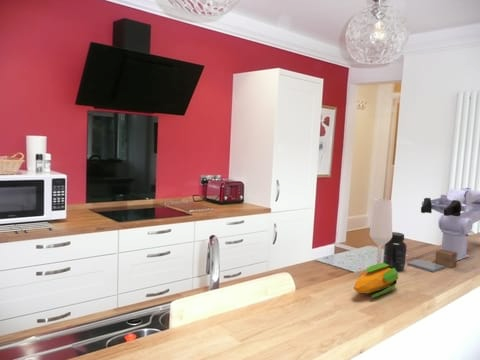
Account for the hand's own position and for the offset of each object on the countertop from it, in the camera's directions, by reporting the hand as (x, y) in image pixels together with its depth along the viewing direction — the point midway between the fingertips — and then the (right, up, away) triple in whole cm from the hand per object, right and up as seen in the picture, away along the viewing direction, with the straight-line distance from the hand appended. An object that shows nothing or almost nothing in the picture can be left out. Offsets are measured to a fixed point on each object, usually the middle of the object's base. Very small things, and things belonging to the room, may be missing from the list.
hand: (433, 211), depth 131 cm
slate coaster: (-2, -19, 0) cm, 19 cm away
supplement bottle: (-15, -19, -3) cm, 24 cm away
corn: (-29, -21, -25) cm, 43 cm away
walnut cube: (+6, -19, +3) cm, 20 cm away
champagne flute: (-23, -19, -11) cm, 32 cm away
